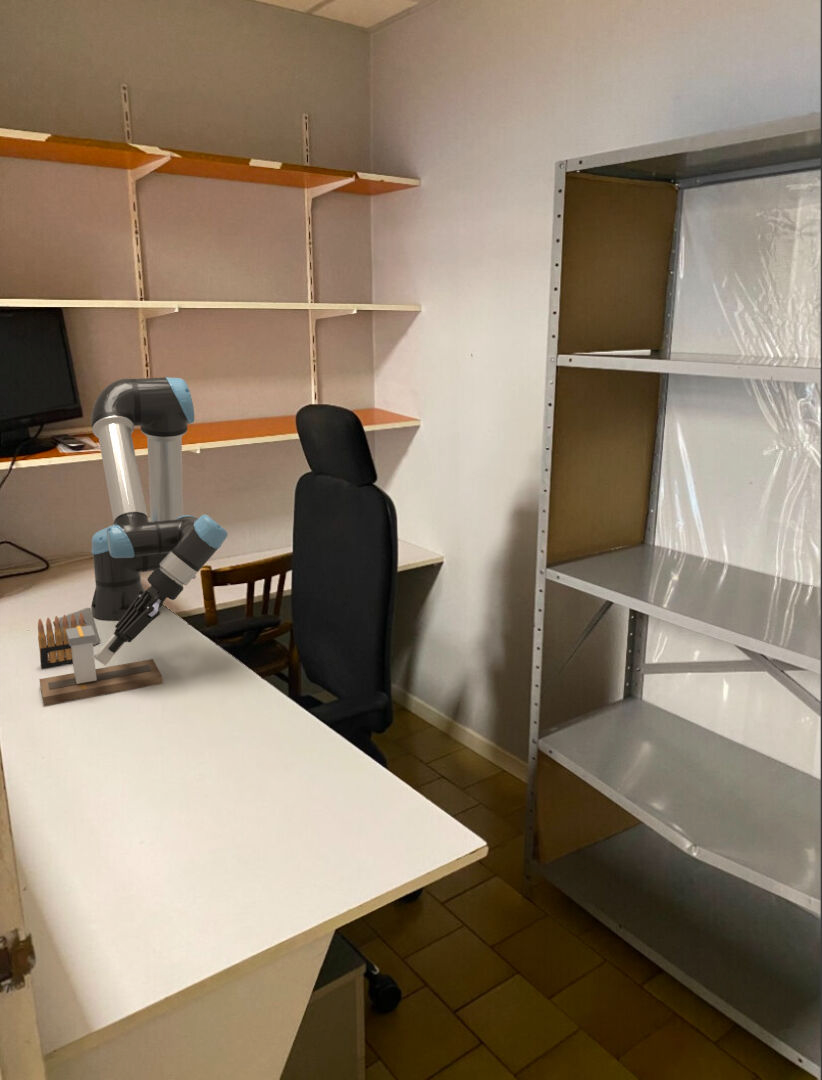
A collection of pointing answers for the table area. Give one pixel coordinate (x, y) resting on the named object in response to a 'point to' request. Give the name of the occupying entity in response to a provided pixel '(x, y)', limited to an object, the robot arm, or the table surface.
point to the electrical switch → (87, 618)
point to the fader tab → (82, 652)
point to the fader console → (100, 682)
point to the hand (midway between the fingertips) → (99, 660)
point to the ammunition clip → (56, 642)
